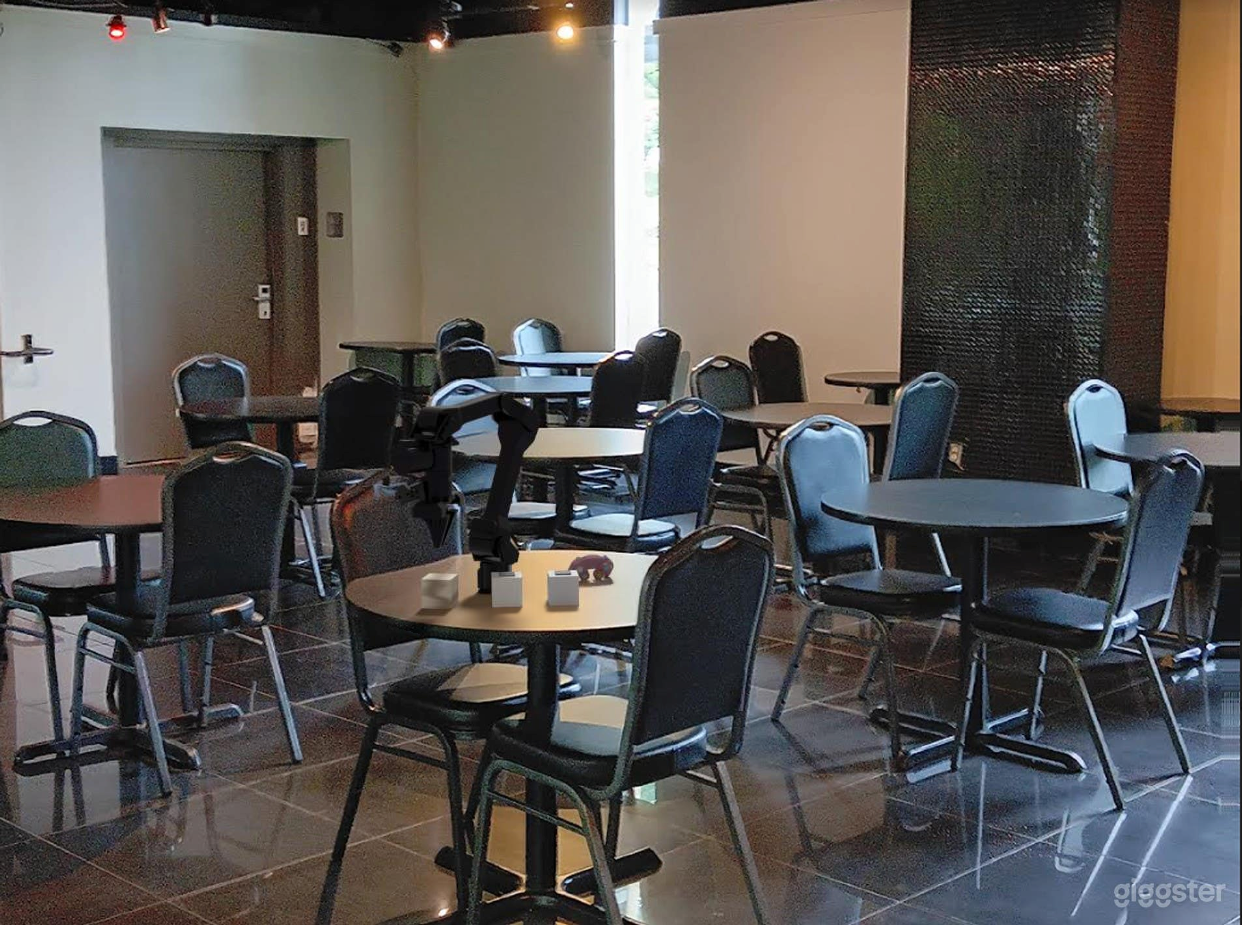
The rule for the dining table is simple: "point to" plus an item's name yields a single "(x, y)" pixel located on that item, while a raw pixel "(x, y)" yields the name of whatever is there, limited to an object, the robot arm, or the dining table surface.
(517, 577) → the off-white numbered cube
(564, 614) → the dining table surface
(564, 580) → the grey numbered cube
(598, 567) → the video game controller
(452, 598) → the plain ash cube
